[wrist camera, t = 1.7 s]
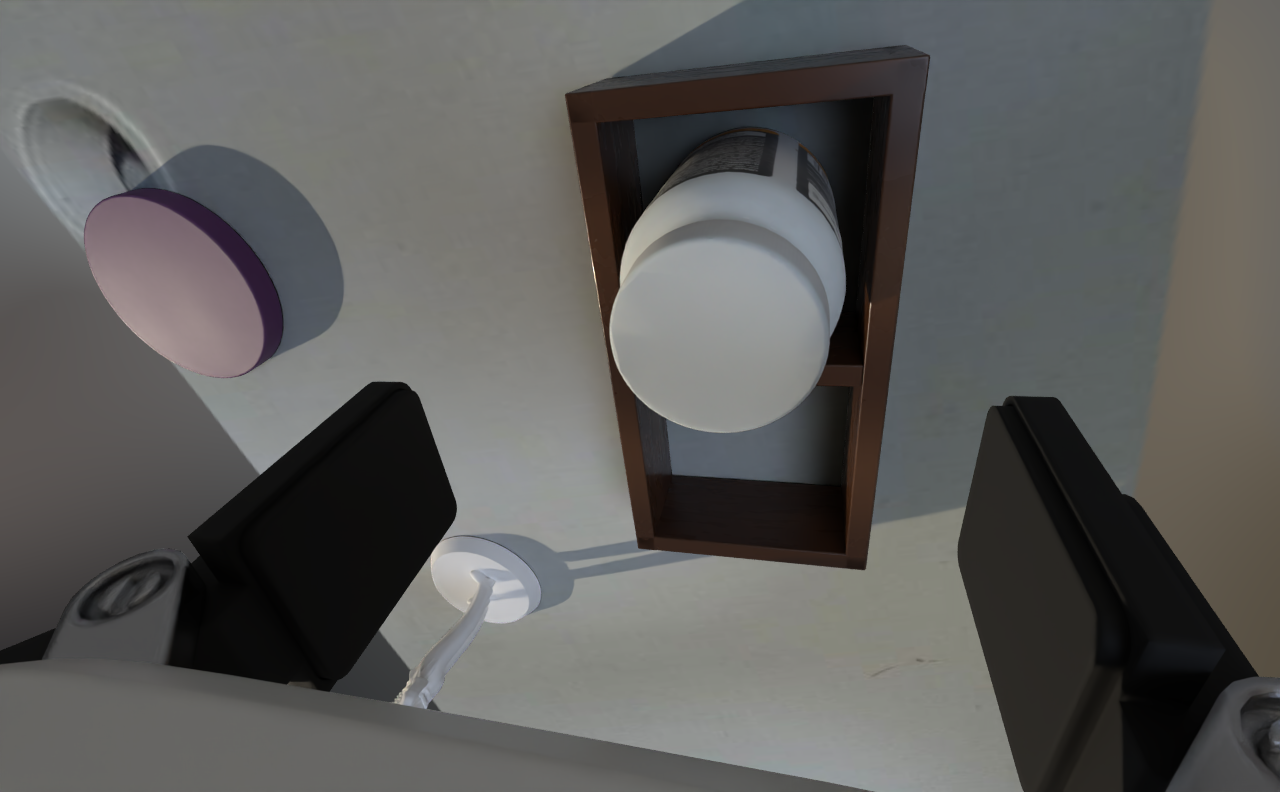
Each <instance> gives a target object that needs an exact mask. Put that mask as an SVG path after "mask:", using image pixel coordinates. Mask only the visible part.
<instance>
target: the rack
mask: <svg viewBox="0 0 1280 792" xmlns="http://www.w3.org/2000/svg"><path fill="white" fill-rule="evenodd" d="M929 61H930V55H928V54H926V53H923V52H921V51H919V50H916V49H914V48H912V47H909V46H907V45H902V46H893V47H884V48H875V49H866V50H857V51H848V52H839V53H830V54H822V55H813V56H804V57H795V58H786V59H777V60H768V61H759V62H750V63H741V64H733V65H724V66H715V67H706V68H697V69H688V70H679V71H670V72H661V73H652V74H644V75H635V76H626V77H617V78H608V79H604V80H601V81H599V82H596V83H593V84H591V85H588V86H585V87H583V88H580V89H577V90H575V91H572V92H569V93H567V94H565V98H566V104H567V110H568V116H569V123H570V129H571V135H572V141H573V147H574V154H575V160H576V166H577V172H578V178H579V184H580V191H581V197H582V203H583V209H584V215H585V222H586V228H587V234H588V240H589V246H590V253H591V259H592V265H593V271H594V277H595V283H596V290H597V296H598V302H599V308H600V314H601V321H602V327H603V333H604V339H605V345H606V352H607V358H608V364H609V370H610V376H611V382H612V389H613V395H614V401H615V407H616V413H617V420H618V426H619V432H620V438H621V444H622V451H623V457H624V463H625V469H626V475H627V482H628V488H629V494H630V500H631V506H632V512H633V519H634V525H635V531H636V537H637V543H638V548H639V549H648V550H662V551H672V552H682V553H693V554H703V555H713V556H723V557H734V558H744V559H754V560H765V561H775V562H785V563H795V564H806V565H816V566H826V567H836V568H847V569H857V570H865V569H866V564H867V556H868V548H869V540H870V532H871V524H872V516H873V508H874V500H875V492H876V484H877V476H878V468H879V460H880V452H881V444H882V436H883V428H884V420H885V412H886V404H887V396H888V388H889V380H890V372H891V364H892V356H893V348H894V340H895V332H896V324H897V316H898V308H899V300H900V292H901V284H902V276H903V268H904V260H905V252H906V244H907V236H908V228H909V220H910V212H911V204H912V196H913V187H914V179H915V171H916V163H917V155H918V147H919V139H920V131H921V123H922V115H923V107H924V99H925V91H926V85H927V77H928V69H929ZM872 97H874V100H873V112H872V124H871V136H870V148H869V160H868V171H867V183H866V195H865V207H864V219H863V231H862V243H861V255H860V267H859V278H858V290H857V302H856V314H855V312H841V314H840V317H839V320H838V322H837V325H836V327H835V329H834V331H833V333H832V335H831V337H830V345H829V352H828V358H827V361H826V364H825V367H824V370H823V372H822V375H821V377H820V379H819V381H818V382H817V384H816V386H849V397H848V409H847V421H846V433H845V445H844V457H843V468H842V480H841V486H826V485H810V484H794V483H779V482H763V481H748V480H732V479H717V478H701V477H686V476H672V469H671V460H670V451H669V442H668V433H667V424H666V418H665V417H663V416H661V415H660V414H658V413H656V412H655V411H653V410H652V409H650V408H649V407H648V406H647V405H645V404H644V403H643V402H642V401H641V400H640V399H639V398H638V397H637V396H636V394H634V393H633V391H632V390H631V389H630V388H629V386H628V385H627V383H626V382H625V381H624V379H623V377H622V375H621V374H620V372H619V370H618V367H617V365H616V362H615V359H614V356H613V352H612V348H611V342H610V318H611V312H612V308H613V304H614V301H615V298H616V296H617V294H618V291H619V289H620V270H621V262H622V257H623V253H624V250H625V246H626V243H627V240H628V238H629V235H630V233H631V231H632V229H633V228H634V226H635V224H636V223H637V221H638V220H639V218H640V217H641V216H642V214H643V205H642V195H641V186H640V177H639V168H638V159H637V150H636V141H635V131H634V122H633V120H635V119H646V118H656V117H667V116H678V115H689V114H700V113H710V112H721V111H732V110H743V109H753V108H764V107H775V106H786V105H797V104H807V103H818V102H829V101H840V100H850V99H861V98H872Z"/></svg>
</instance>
